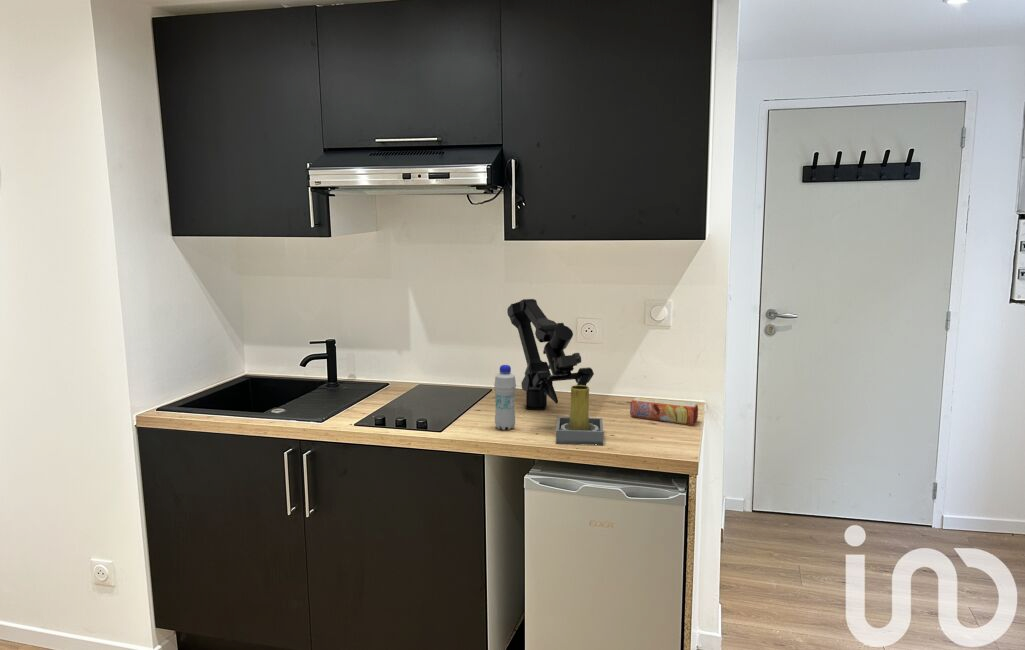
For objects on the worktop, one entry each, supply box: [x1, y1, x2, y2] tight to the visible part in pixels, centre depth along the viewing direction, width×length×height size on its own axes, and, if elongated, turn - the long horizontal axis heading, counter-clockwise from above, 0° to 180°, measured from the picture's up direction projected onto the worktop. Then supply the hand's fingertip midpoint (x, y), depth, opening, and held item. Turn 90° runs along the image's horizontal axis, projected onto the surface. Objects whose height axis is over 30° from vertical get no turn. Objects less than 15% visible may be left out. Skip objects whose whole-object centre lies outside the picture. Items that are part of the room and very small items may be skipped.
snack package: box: [629, 396, 699, 426], centre depth 242 cm, size 21×7×7 cm, turn 62°
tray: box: [555, 416, 604, 446], centre depth 224 cm, size 14×14×4 cm
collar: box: [561, 423, 598, 431], centre depth 224 cm, size 11×11×2 cm
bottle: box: [494, 364, 517, 431], centre depth 231 cm, size 7×7×20 cm
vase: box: [569, 384, 590, 431], centre depth 223 cm, size 6×6×14 cm
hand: (570, 401), depth 229 cm, fingers open, 9 cm apart
